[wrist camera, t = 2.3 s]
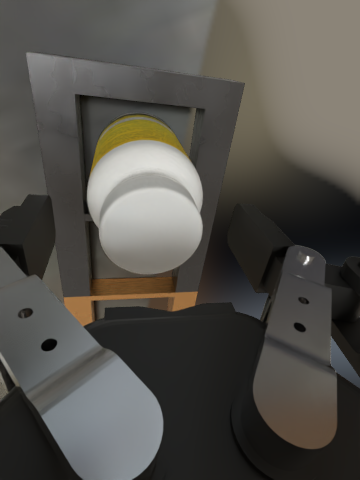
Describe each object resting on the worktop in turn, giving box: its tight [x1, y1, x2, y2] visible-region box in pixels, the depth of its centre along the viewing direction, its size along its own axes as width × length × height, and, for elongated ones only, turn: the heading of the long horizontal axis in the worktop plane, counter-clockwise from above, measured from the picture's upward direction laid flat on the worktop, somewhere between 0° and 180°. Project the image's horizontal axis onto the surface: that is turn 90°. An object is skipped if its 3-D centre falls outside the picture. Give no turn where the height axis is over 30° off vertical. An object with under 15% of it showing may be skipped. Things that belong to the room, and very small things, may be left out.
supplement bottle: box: [87, 112, 203, 274], centre depth 14 cm, size 5×5×10 cm
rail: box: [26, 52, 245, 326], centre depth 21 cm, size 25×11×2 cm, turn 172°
